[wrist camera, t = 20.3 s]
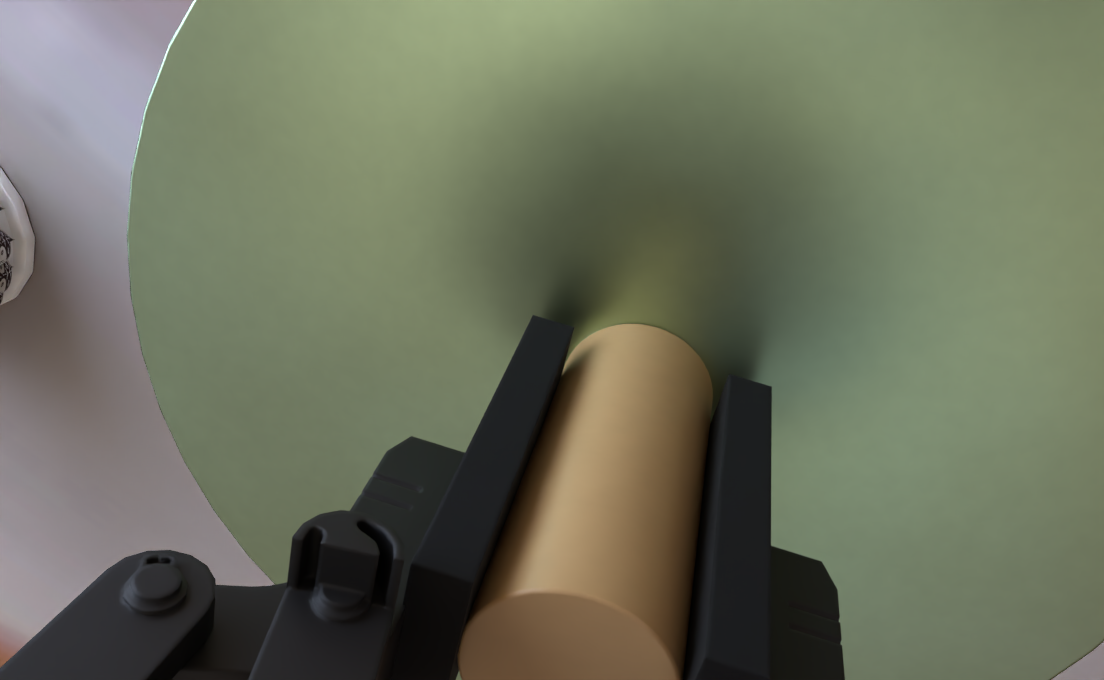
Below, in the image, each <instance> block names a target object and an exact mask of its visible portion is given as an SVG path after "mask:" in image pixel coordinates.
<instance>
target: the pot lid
mask: <svg viewBox="0 0 1104 680" xmlns="http://www.w3.org/2000/svg"><path fill="white" fill-rule="evenodd" d="M127 245H128V261H129V276H130V291H131V300H132V305H133V310H134V315H135V320H136V325H137V330H138V335H139V340H140V345H141V350H142V355H143V358H144V361H145V364H146V367H147V370H148V373H149V376H150V380H151V383H152V386H153V389H154V392H155V395H156V398H157V401H158V404H159V407H160V410H161V412H162V414H163V416H164V419H165V421H166V423H167V425H168V427H169V429H170V432H171V434H172V436H173V438H174V440H175V442H176V445H177V447H178V449H179V451H180V453H181V455H182V457H183V460H184V462H185V464H186V465H187V467H188V469H189V470H190V472H191V473H192V475H193V477H194V478H195V480H196V482H197V483H198V485H199V487H200V488H201V490H202V492H203V493H204V495H205V497H206V498H207V500H208V502H209V503H210V505H211V506H212V508H213V510H214V511H215V513H216V514H217V515H218V517H219V518H220V519H221V521H222V522H223V523H224V524H225V526H226V527H227V528H228V530H229V531H230V532H231V534H232V535H233V536H234V538H235V539H236V540H237V542H238V543H239V544H240V546H241V547H242V548H243V549H244V551H245V552H246V553H247V555H248V556H249V557H250V558H251V559H252V560H253V561H254V562H255V563H256V565H257V566H258V567H259V568H260V569H261V570H262V571H263V572H264V573H265V574H266V575H267V576H268V577H269V578H270V580H271V581H272V582H273V583H274V584H275V585H277V584H281V583H286V582H287V579H288V570H289V562H290V553H291V544H292V537H293V535H294V534H295V533H296V531H297V530H298V529H299V528H300V526H301V525H302V524H303V523H304V522H306V521H308V520H310V519H312V518H313V517H315V516H317V515H319V514H322V513H328V512H333V511H338V510H346V511H350V510H351V508H352V506H353V505H354V503H355V502H356V500H357V498H358V497H359V495H361V494H362V490H363V489H364V487H365V485H366V484H367V482H368V481H369V479H370V477H372V476H373V472H374V471H375V469H376V468H377V466H378V464H379V463H380V461H381V460H382V458H383V456H384V455H385V453H386V451H388V450H389V449H391V448H393V447H394V446H396V445H397V444H399V443H401V442H402V441H404V440H406V439H407V438H409V437H411V436H413V437H416V438H420V439H423V440H426V441H429V442H432V443H436V444H439V445H442V446H445V447H448V448H452V449H455V450H458V451H461V452H466V450H467V448H468V446H469V444H470V442H471V440H472V438H473V436H474V434H475V432H476V430H477V428H478V426H479V424H480V422H481V419H482V417H483V415H484V413H485V411H486V409H487V407H488V405H489V403H490V401H491V399H492V397H493V395H494V393H495V391H496V389H497V387H498V385H499V383H500V381H501V379H502V377H503V375H504V373H505V371H506V369H507V367H508V365H509V363H510V361H511V358H512V356H513V354H514V352H515V350H516V348H517V346H518V344H519V342H520V340H521V338H522V336H523V334H524V332H525V330H526V328H527V326H528V324H529V322H530V320H531V318H532V316H533V315H535V316H538V317H542V318H545V319H548V320H552V321H555V322H558V323H562V324H565V325H568V326H572V327H574V331H573V335H572V339H571V342H570V346H569V350H568V353H567V357H566V361H565V364H564V368H563V372H562V375H561V378H560V381H559V384H558V386H557V389H556V391H555V394H554V397H553V399H552V402H551V404H550V407H549V410H548V412H547V415H546V417H545V420H544V423H543V425H542V428H541V430H540V433H539V435H538V438H537V441H536V443H535V446H534V448H533V451H532V454H531V456H530V459H529V461H528V464H527V467H526V469H525V472H524V474H523V477H522V480H521V482H520V485H519V487H518V490H517V493H516V495H515V498H514V500H513V503H512V506H511V508H510V511H509V513H508V516H507V519H506V521H505V524H504V526H503V529H502V532H501V534H500V537H499V539H498V542H497V545H496V547H495V550H494V552H493V555H492V558H491V560H490V563H489V565H488V568H487V570H486V573H485V576H484V578H483V581H482V583H481V586H480V589H479V591H478V594H477V596H476V599H475V602H474V604H473V607H472V609H471V612H470V615H469V617H468V620H467V622H466V625H465V628H464V631H463V635H462V639H461V643H460V647H459V651H458V656H457V657H458V667H459V672H458V675H457V677H456V680H683V674H684V665H685V656H686V646H687V637H688V627H689V618H690V608H691V599H692V589H693V580H694V571H695V561H696V552H697V542H698V533H699V523H700V514H701V504H702V495H703V485H704V476H705V467H706V457H707V448H708V438H709V429H710V423H711V420H712V418H713V415H714V412H715V410H716V407H717V404H718V402H719V399H720V396H721V394H722V391H723V388H724V386H725V383H726V380H727V378H728V375H729V374H732V375H735V376H738V377H742V378H745V379H748V380H752V381H755V382H758V383H762V384H765V385H768V386H772V445H771V546H774V547H777V548H780V549H783V550H787V551H790V552H793V553H796V554H800V555H803V556H806V557H809V558H812V559H816V560H819V561H822V563H823V564H824V566H825V568H826V570H827V572H828V573H829V575H830V577H831V579H832V581H833V582H834V584H835V586H836V588H837V590H838V601H839V614H840V618H839V622H840V626H841V638H842V640H841V643H840V645H842V650H843V662H844V674H845V680H1051V679H1053V678H1054V677H1055V676H1057V675H1058V674H1060V673H1061V672H1063V671H1064V670H1066V669H1067V668H1068V667H1070V666H1071V665H1073V664H1074V663H1076V662H1077V661H1079V660H1080V659H1082V658H1083V657H1084V656H1086V655H1087V654H1089V653H1090V652H1092V651H1093V650H1094V649H1095V648H1096V647H1098V646H1099V645H1100V644H1101V643H1102V642H1103V641H1104V0H194V1H193V3H192V4H191V6H190V8H189V10H188V11H187V13H186V15H185V17H184V19H183V20H182V22H181V24H180V26H179V27H178V29H177V31H176V33H175V35H174V36H173V38H172V40H171V42H170V44H169V46H168V49H167V52H166V54H165V57H164V59H163V62H162V65H161V67H160V70H159V73H158V75H157V78H156V81H155V83H154V86H153V89H152V91H151V94H150V97H149V99H148V102H147V105H146V107H145V111H144V116H143V120H142V125H141V130H140V134H139V139H138V144H137V148H136V153H135V157H134V162H133V167H132V171H131V184H130V198H129V212H128V226H127Z"/></svg>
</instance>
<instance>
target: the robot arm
mask: <svg viewBox="0 0 1104 680" xmlns="http://www.w3.org/2000/svg"><path fill="white" fill-rule="evenodd" d="M573 331H574V327H572V326H568V325H565V324H562V323H558V322H555V321H552V320H548V319H545V318H542V317H538V316H535V315H533V316H532V318H531V320H530V322H529V324H528V326H527V328H526V330H525V332H524V334H523V336H522V338H521V340H520V342H519V344H518V346H517V348H516V350H515V352H514V354H513V356H512V358H511V361H510V363H509V365H508V367H507V369H506V371H505V373H504V375H503V377H502V379H501V381H500V383H499V385H498V387H497V389H496V391H495V393H494V395H493V397H492V399H491V401H490V403H489V405H488V407H487V409H486V411H485V413H484V415H483V417H482V419H481V422H480V424H479V426H478V428H477V430H476V432H475V434H474V436H473V438H472V440H471V442H470V444H469V446H468V448H467V450H466V452H461V451H458V450H455V449H452V448H448V447H445V446H442V445H439V444H436V443H432V442H429V441H426V440H423V439H420V438H416V437H413V436H411V437H409V438H407V439H406V440H404V441H402V442H401V443H399V444H397V445H396V446H394V447H393V448H391V449H389V450H388V451H386V453H385V455H384V456H383V458H382V460H381V461H380V463H379V464H378V466H377V468H376V469H375V471H374V472H373V476H372V477H370V479H369V481H368V482H367V484H366V485H365V487H364V489H363V490H362V494H361V495H359V497H358V498H357V500H356V502H355V503H354V505H353V506H352V508H351V510H350V511H346V510H338V511H333V512H328V513H322V514H319V515H317V516H315V517H313V518H312V519H310V520H308V521H306V522H304V523H303V524H302V525H301V526H300V528H299V529H298V530H297V531H296V533H295V534H294V535H293V537H292V544H291V553H290V562H289V570H288V579H287V582H286V583H281V584H277V585H272V586H260V587H245V586H226V585H215V578H214V577H213V575H212V573H211V572H210V570H209V568H208V567H207V565H205V564H204V563H202V562H201V561H199V560H198V559H196V558H194V557H193V556H191V555H188V554H184V553H180V552H176V551H172V550H161V551H146V552H142V553H139V554H136V555H132V556H129V557H126V558H124V559H122V560H121V561H119V562H118V563H116V564H115V565H113V566H112V567H110V568H108V569H107V570H106V571H105V572H104V573H103V574H102V575H100V576H99V577H98V578H97V579H96V580H95V581H94V582H93V583H92V584H91V585H90V586H89V587H87V588H86V589H85V590H84V591H83V592H82V593H81V594H80V595H79V596H78V597H77V598H75V599H74V600H73V601H72V602H71V603H70V604H69V605H68V606H67V607H66V608H65V609H64V610H62V611H61V612H60V613H59V614H58V615H57V616H56V617H55V618H54V619H53V620H52V621H51V622H49V623H48V624H47V625H46V626H45V627H44V628H43V629H42V630H41V631H40V632H39V633H38V634H36V635H35V636H34V637H33V638H32V639H31V640H30V641H29V642H28V643H27V644H26V645H25V646H23V647H22V648H21V649H20V650H19V651H18V652H17V653H16V654H15V655H14V656H13V657H12V658H10V659H9V660H8V661H7V662H6V663H5V664H4V665H3V666H2V667H1V668H0V680H456V677H457V675H458V672H459V667H458V657H457V656H458V651H459V647H460V643H461V639H462V635H463V631H464V628H465V625H466V622H467V620H468V617H469V615H470V612H471V609H472V607H473V604H474V602H475V599H476V596H477V594H478V591H479V589H480V586H481V583H482V581H483V578H484V576H485V573H486V570H487V568H488V565H489V563H490V560H491V558H492V555H493V552H494V550H495V547H496V545H497V542H498V539H499V537H500V534H501V532H502V529H503V526H504V524H505V521H506V519H507V516H508V513H509V511H510V508H511V506H512V503H513V500H514V498H515V495H516V493H517V490H518V487H519V485H520V482H521V480H522V477H523V474H524V472H525V469H526V467H527V464H528V461H529V459H530V456H531V454H532V451H533V448H534V446H535V443H536V441H537V438H538V435H539V433H540V430H541V428H542V425H543V423H544V420H545V417H546V415H547V412H548V410H549V407H550V404H551V402H552V399H553V397H554V394H555V391H556V389H557V386H558V384H559V381H560V378H561V375H562V372H563V368H564V364H565V361H566V357H567V353H568V350H569V346H570V342H571V339H572V335H573ZM771 445H772V386H768V385H765V384H762V383H758V382H755V381H752V380H748V379H745V378H742V377H738V376H735V375H732V374H729V375H728V378H727V380H726V383H725V386H724V388H723V391H722V394H721V396H720V399H719V402H718V404H717V407H716V410H715V412H714V415H713V418H712V420H711V423H710V429H709V438H708V448H707V457H706V467H705V476H704V485H703V495H702V504H701V514H700V523H699V533H698V542H697V552H696V561H695V571H694V580H693V589H692V599H691V608H690V618H689V627H688V637H687V646H686V656H685V665H684V674H683V680H845V674H844V662H843V650H842V645H840V643H841V640H842V638H841V626H840V622H839V618H840V614H839V601H838V590H837V588H836V586H835V584H834V582H833V581H832V579H831V577H830V575H829V573H828V572H827V570H826V568H825V566H824V564H823V563H822V561H819V560H816V559H812V558H809V557H806V556H803V555H800V554H796V553H793V552H790V551H787V550H783V549H780V548H777V547H774V546H771Z"/></svg>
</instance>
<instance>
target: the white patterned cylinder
mask: <svg viewBox="0 0 1104 680" xmlns="http://www.w3.org/2000/svg"><path fill="white" fill-rule="evenodd" d="M34 247H35V237H34V233H33V230H32V227H31V224H30V221H29V218H28V215H27V212H26V208H25V205H24V202H23V199H22V198H21V197H20V195H19V194H18V192H17V191H16V189H15V188H14V186H13V185H12V183H11V182H10V181H9V179H8V178H7V176H6V175H5V173H4V172H3V170H2V169H1V167H0V305H2V304H4V303H6V302H8V301H10V300H13V299H14V298H16V297H17V296H18V295H19V293H20V292H21V290H22V288H23V287H24V285H25V284H26V282H27V281H28V279H29V278H30V276H31V274H32V273H33V263H34Z"/></svg>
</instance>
